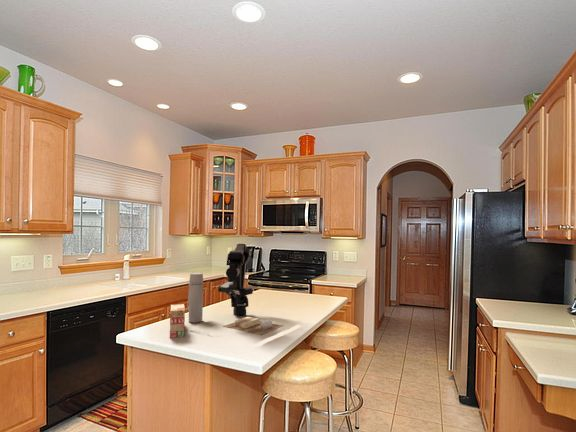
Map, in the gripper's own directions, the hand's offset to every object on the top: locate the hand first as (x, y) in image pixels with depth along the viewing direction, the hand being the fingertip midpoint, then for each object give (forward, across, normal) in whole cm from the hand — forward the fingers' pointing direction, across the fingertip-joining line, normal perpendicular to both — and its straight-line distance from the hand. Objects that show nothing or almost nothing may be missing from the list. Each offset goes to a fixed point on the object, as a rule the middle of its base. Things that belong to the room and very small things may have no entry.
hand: (234, 307), depth 172 cm
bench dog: (+8, +20, 0) cm, 21 cm away
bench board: (+9, +12, 0) cm, 15 cm away
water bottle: (+9, -23, -6) cm, 26 cm away
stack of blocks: (+10, -16, -23) cm, 29 cm away
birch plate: (+8, +8, 0) cm, 11 cm away
